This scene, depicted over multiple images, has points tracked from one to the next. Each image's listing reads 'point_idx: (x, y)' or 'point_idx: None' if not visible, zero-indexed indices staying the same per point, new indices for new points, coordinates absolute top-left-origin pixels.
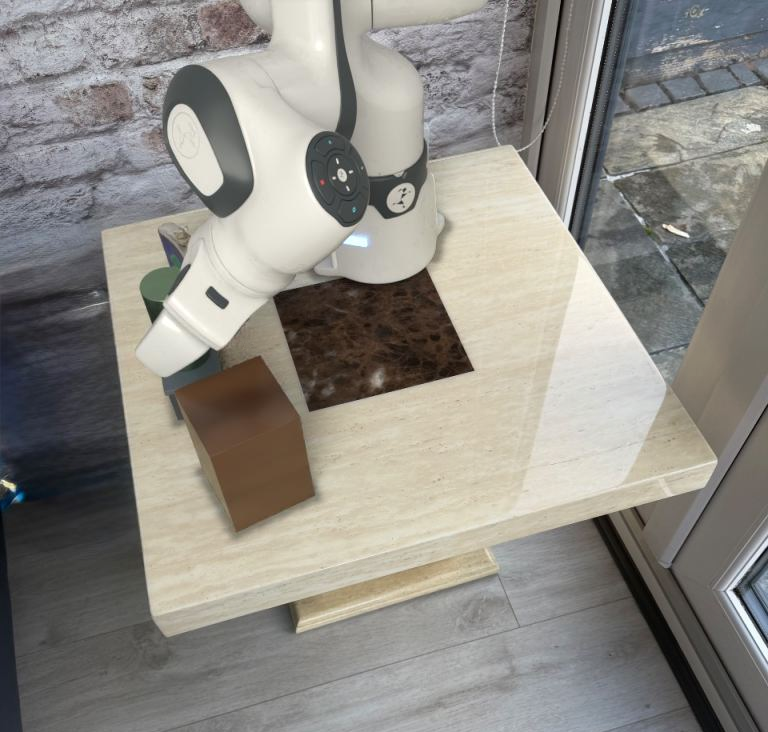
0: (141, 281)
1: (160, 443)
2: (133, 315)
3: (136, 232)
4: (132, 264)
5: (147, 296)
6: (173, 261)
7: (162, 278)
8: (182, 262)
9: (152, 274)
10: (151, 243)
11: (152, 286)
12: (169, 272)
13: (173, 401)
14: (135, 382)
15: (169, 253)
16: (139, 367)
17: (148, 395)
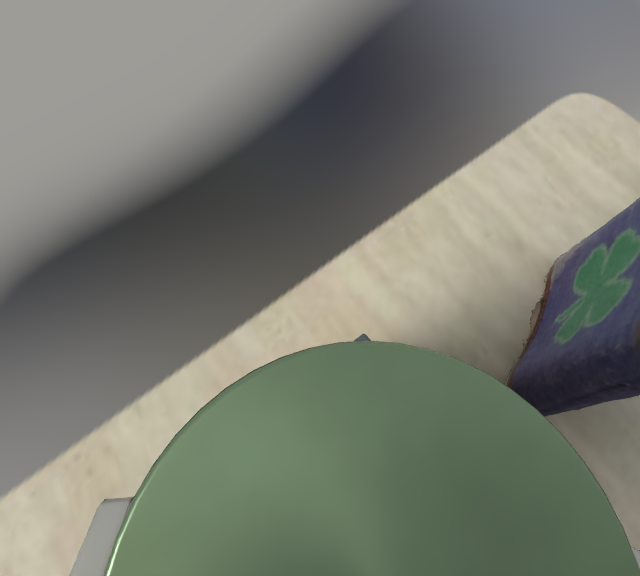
0: (313, 355)
1: (86, 509)
2: (434, 221)
3: (625, 115)
4: (551, 149)
5: (132, 548)
6: (617, 242)
7: (442, 536)
8: (637, 285)
9: (437, 402)
10: (621, 153)
11: (295, 503)
12: (549, 561)
13: None
14: (259, 330)
15: (636, 222)
16: (305, 314)
17: (232, 383)
